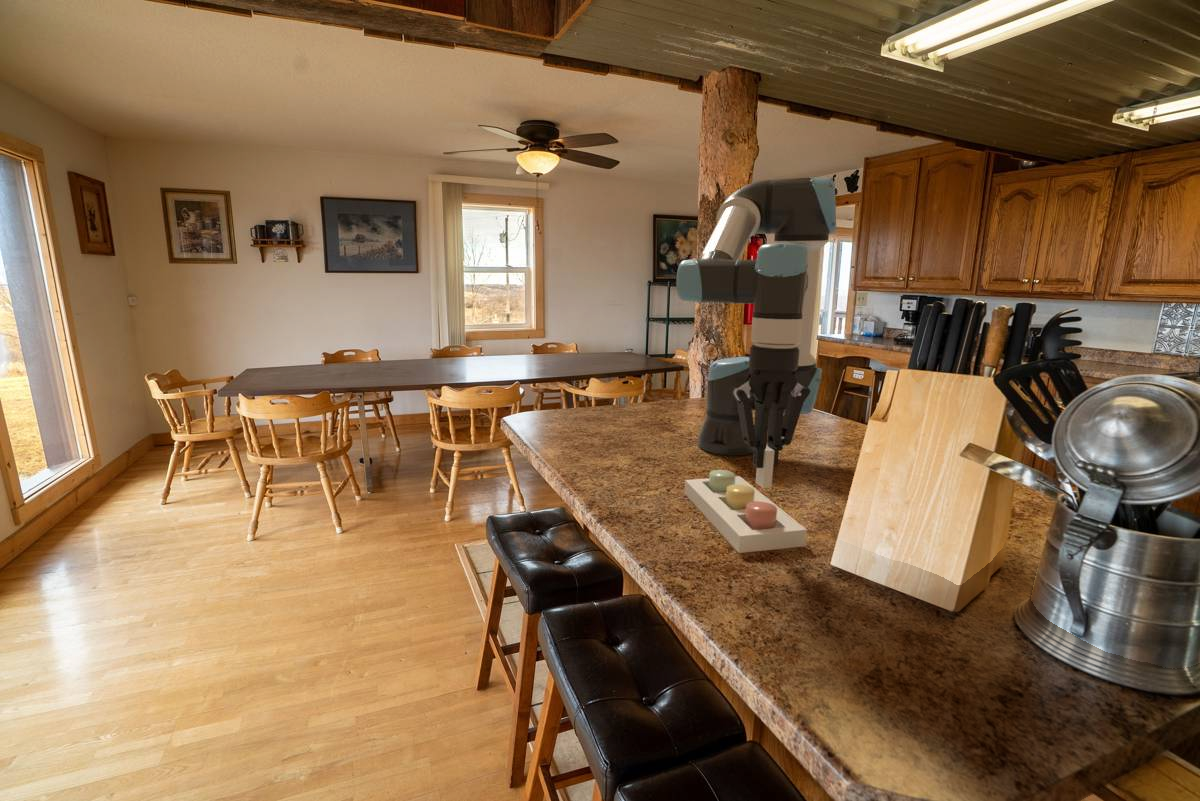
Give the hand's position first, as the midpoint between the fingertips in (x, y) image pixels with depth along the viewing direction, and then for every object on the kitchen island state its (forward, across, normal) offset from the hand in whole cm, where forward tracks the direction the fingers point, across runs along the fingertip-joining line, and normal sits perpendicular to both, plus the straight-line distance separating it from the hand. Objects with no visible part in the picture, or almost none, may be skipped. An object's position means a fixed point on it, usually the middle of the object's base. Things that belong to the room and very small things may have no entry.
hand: (763, 485), depth 93 cm
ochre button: (+7, 0, -8) cm, 11 cm away
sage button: (+7, 0, -16) cm, 18 cm away
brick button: (+7, 0, 0) cm, 7 cm away
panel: (+10, 0, -8) cm, 13 cm away
